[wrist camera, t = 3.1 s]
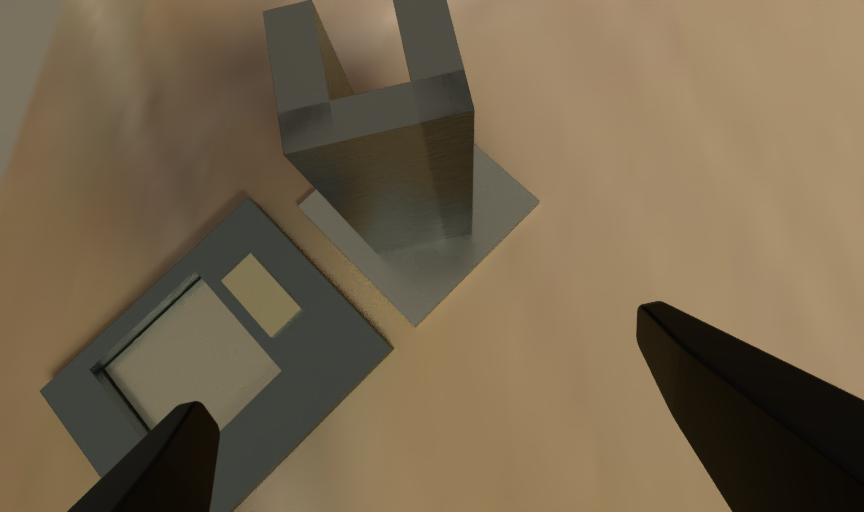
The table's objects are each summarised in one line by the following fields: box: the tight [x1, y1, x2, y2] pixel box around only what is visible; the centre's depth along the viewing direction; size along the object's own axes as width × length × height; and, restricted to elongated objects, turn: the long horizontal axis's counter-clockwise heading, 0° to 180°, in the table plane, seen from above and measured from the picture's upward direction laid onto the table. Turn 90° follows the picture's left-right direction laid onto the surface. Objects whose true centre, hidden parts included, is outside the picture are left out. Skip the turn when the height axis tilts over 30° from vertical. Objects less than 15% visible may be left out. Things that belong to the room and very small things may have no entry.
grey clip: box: [263, 0, 474, 254], centre depth 18 cm, size 4×5×12 cm
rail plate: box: [40, 198, 394, 512], centre depth 23 cm, size 11×14×1 cm
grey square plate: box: [298, 144, 539, 327], centre depth 24 cm, size 9×9×1 cm
